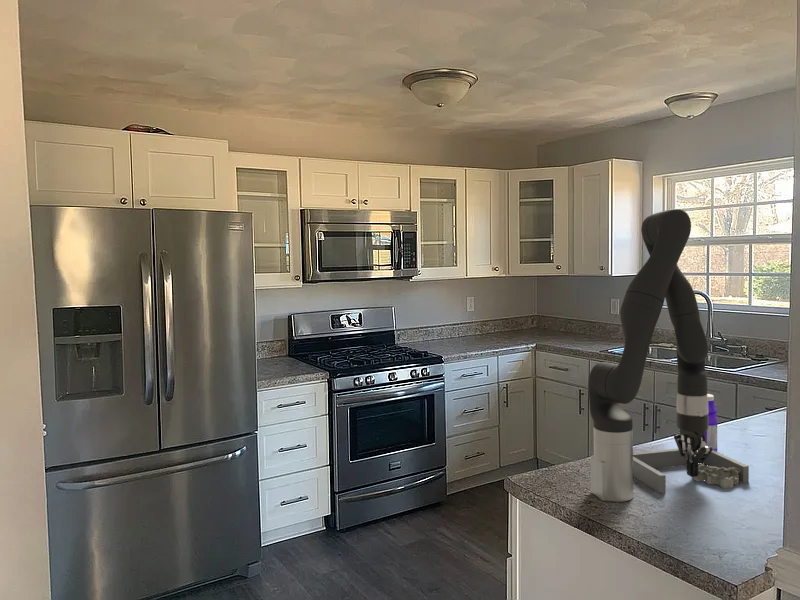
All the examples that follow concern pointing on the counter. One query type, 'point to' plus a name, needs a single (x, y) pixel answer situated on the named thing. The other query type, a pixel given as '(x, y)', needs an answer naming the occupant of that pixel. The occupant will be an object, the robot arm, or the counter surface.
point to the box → (667, 458)
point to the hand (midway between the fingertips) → (692, 475)
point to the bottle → (711, 424)
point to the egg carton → (718, 475)
